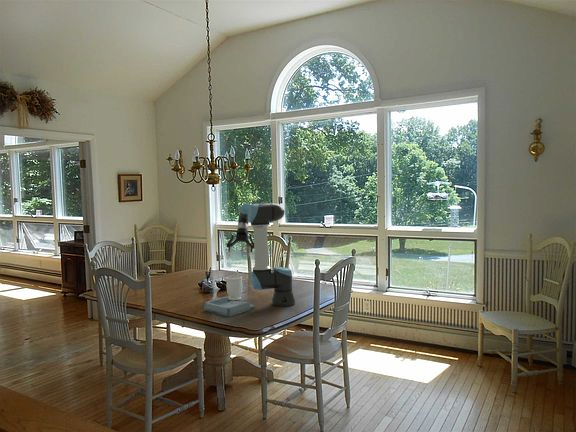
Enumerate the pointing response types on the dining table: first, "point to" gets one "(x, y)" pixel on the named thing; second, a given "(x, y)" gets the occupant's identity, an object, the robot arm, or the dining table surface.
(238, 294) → the jar
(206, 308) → the tray
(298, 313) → the dining table surface
